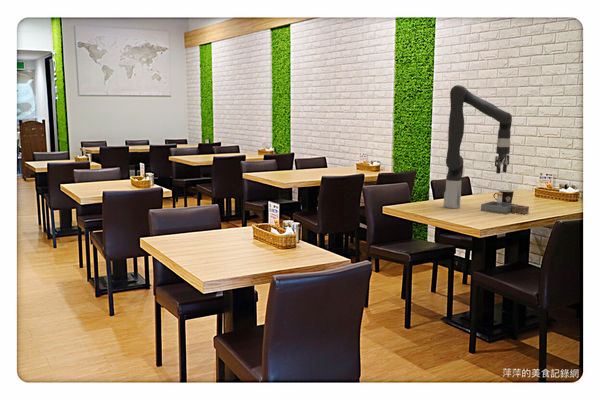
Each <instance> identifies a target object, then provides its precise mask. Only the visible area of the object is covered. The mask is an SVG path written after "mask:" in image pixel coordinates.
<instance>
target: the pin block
mask: <svg viewBox="0 0 600 400" xmlns="http://www.w3.org/2000/svg"><path fill="white" fill-rule="evenodd" d="M529 211H530V206H529V205H522V204H521V205H520V204H517V205H516V206H512V212H511V213H512V214H515V213H516V214H517V215H523V216H524V215H527V214H529Z"/></svg>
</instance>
